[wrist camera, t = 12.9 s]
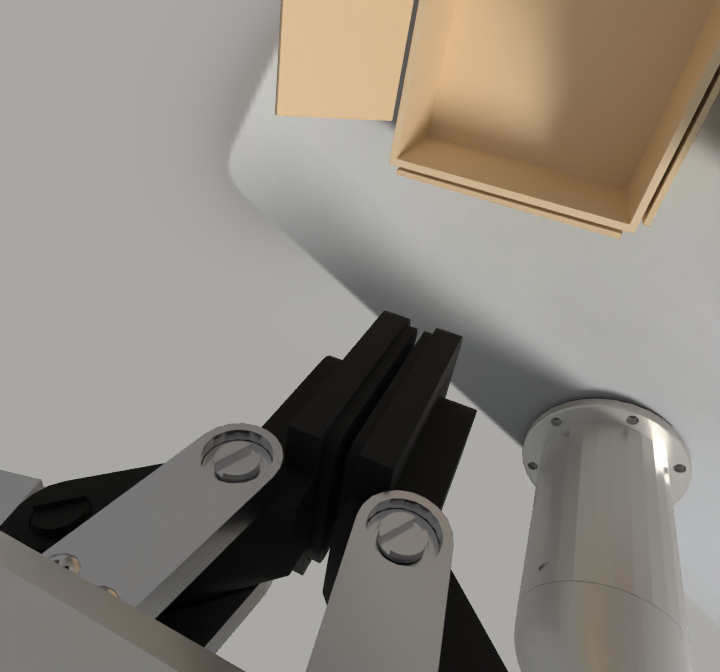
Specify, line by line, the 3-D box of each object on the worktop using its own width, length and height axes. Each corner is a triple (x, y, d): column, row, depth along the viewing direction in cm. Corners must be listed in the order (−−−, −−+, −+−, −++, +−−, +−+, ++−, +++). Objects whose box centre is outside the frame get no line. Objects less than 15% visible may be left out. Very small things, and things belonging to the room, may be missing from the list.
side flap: (392, 120, 29) (276, 115, 26) (389, 119, 29) (275, 113, 26) (434, -116, 23) (291, -155, 20) (431, -116, 23) (289, -154, 20)
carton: (635, 206, 33) (640, 246, 28) (420, 147, 36) (387, 172, 31) (835, -203, 22) (909, -271, 17) (504, -234, 25) (474, -299, 20)
